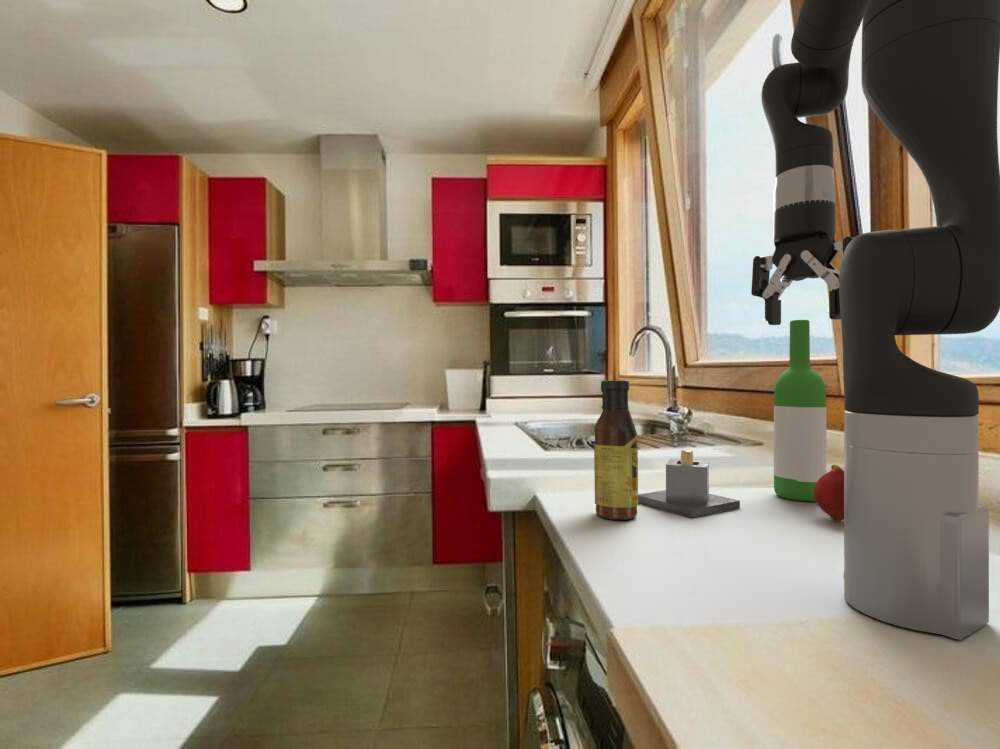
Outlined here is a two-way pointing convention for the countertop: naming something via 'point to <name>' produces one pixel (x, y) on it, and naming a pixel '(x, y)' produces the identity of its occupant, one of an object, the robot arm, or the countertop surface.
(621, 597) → the countertop surface
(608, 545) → the countertop surface
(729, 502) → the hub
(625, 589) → the countertop surface
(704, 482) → the collar
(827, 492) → the onion
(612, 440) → the sauce bottle
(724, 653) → the countertop surface
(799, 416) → the wine bottle
